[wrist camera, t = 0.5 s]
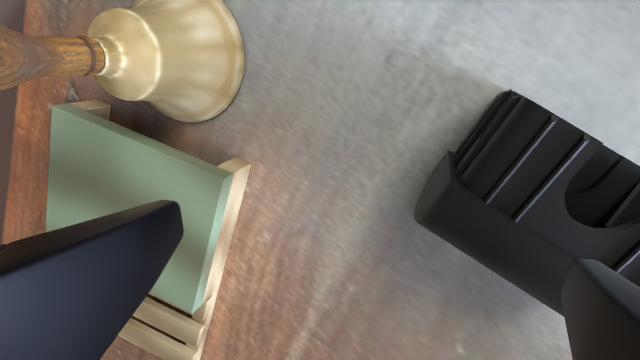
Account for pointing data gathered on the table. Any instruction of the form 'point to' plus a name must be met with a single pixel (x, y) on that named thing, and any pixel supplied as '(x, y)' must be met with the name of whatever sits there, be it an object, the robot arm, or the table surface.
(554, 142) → the end cap
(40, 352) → the robot arm
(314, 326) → the table surface
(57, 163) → the rack
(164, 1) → the hand bell
